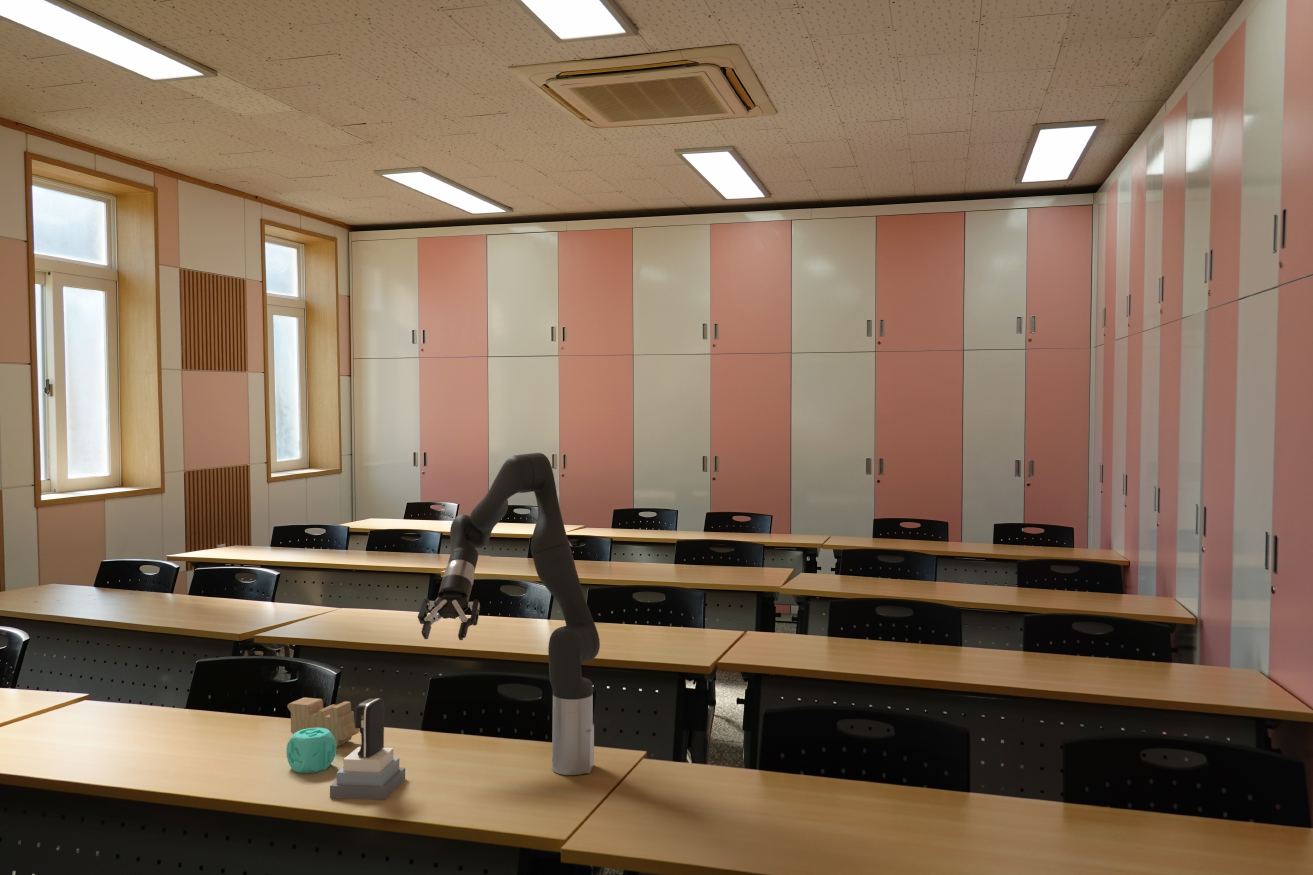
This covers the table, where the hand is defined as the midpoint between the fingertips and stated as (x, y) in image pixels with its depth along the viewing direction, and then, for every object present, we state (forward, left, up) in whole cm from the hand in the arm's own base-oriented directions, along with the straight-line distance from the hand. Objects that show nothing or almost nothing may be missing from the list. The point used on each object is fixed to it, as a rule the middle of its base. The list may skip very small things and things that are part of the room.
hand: (442, 637), depth 218 cm
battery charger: (+10, +19, -21) cm, 31 cm away
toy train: (+33, -8, -29) cm, 45 cm away
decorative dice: (+28, +9, -29) cm, 41 cm away
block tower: (+10, +20, -29) cm, 36 cm away
